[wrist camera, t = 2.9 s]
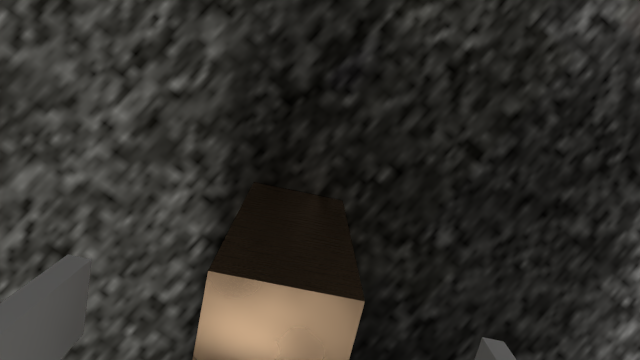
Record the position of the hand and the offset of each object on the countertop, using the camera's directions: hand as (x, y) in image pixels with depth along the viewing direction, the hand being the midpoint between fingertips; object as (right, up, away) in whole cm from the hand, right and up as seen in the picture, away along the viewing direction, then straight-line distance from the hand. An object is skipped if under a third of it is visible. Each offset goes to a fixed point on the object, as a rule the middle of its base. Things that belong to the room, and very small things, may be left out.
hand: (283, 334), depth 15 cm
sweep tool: (-2, -3, +9) cm, 10 cm away
